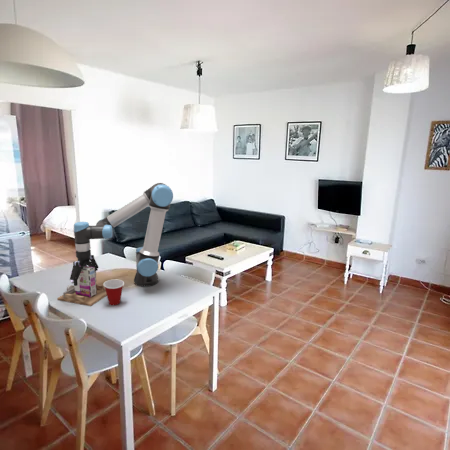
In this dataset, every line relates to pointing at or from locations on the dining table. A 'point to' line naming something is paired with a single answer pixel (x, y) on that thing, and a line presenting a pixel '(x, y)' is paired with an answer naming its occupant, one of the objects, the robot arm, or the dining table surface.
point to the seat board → (79, 299)
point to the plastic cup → (114, 290)
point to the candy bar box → (87, 282)
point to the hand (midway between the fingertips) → (85, 285)
